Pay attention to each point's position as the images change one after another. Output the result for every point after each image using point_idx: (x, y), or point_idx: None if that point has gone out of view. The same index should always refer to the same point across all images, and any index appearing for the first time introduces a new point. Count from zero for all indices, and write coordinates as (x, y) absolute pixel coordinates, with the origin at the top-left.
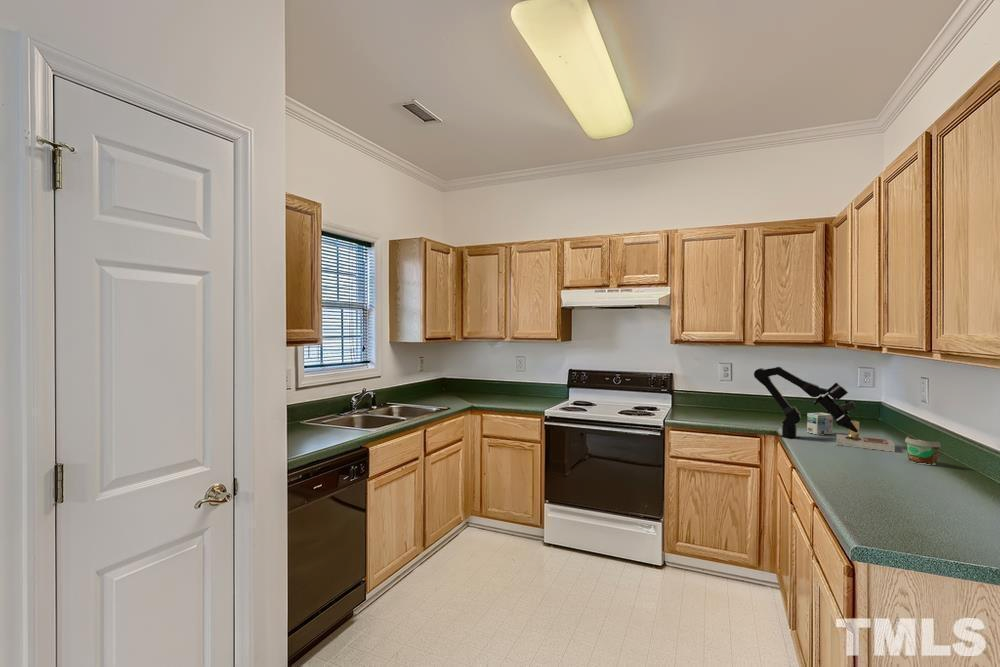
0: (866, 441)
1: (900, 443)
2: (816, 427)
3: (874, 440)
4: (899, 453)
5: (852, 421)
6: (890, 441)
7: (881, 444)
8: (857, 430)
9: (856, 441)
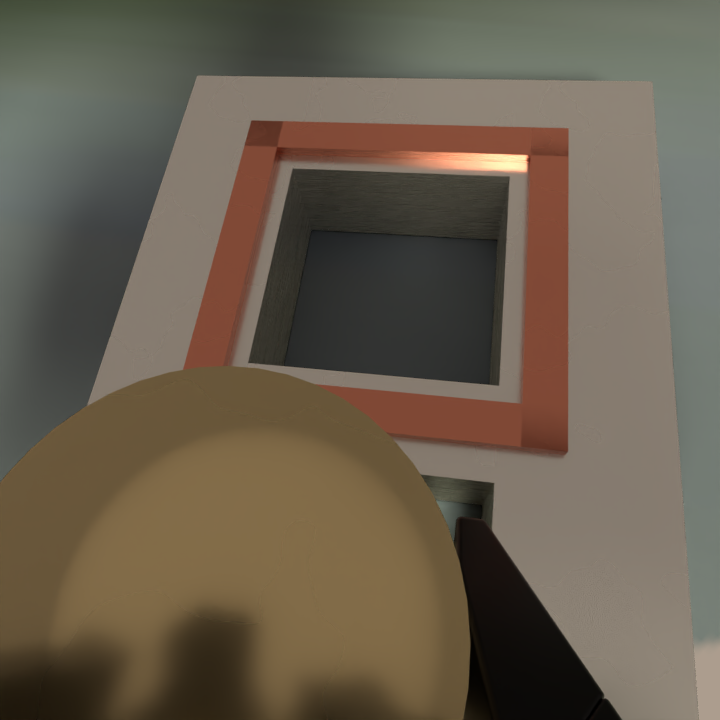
0: (567, 412)
1: (26, 57)
2: None
3: (277, 269)
4: (665, 122)
5: (200, 699)
6: (329, 95)
7: (661, 223)
8: (489, 533)
9: (689, 614)
